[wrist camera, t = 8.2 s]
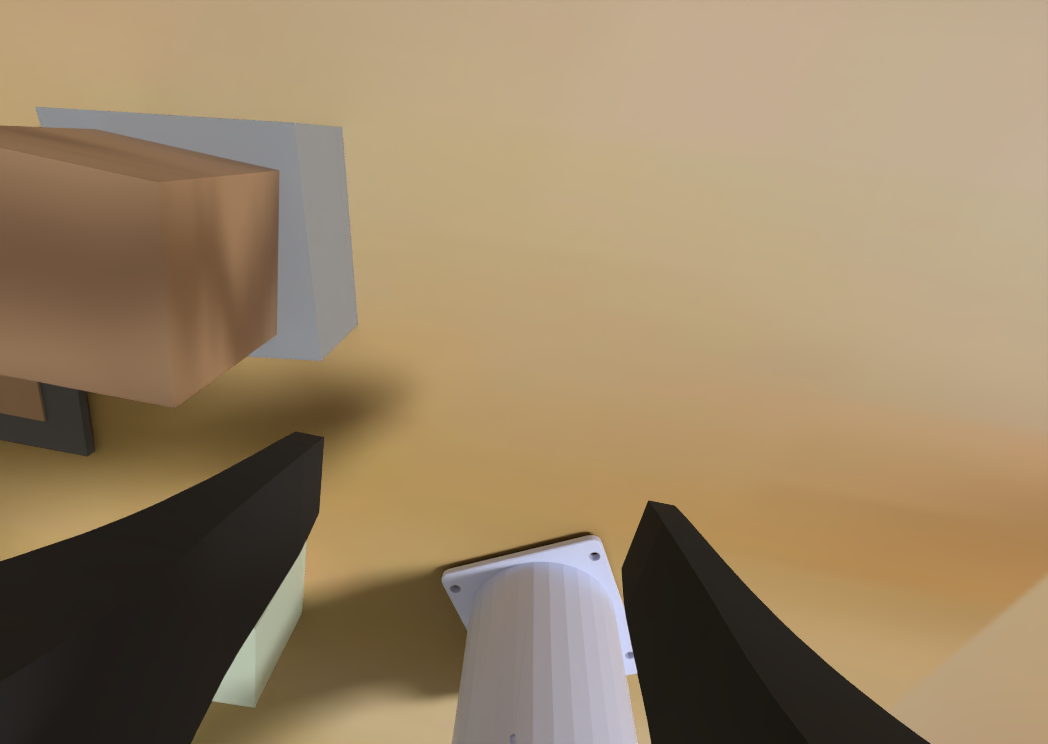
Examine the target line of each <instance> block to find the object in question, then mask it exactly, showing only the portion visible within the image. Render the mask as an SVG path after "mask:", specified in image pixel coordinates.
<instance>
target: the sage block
mask: <svg viewBox="0 0 1048 744" xmlns="http://www.w3.org/2000/svg"><path fill="white" fill-rule="evenodd" d="M306 544H307V540H306V542H305V544H304V546H303V548H302V551H301V553H300V555H299V556H298V558H297V560H296V561H295V563H294V565H293V566H292V568H291V569H290V571H289V573H288V574H287V576H286V577H285V579H284V581H283V582H282V584H281V586H280V587H279V589H278V590H277V592H276V594H275V595H274V597H273V598H272V600H271V601H270V603H269V605H268V606H267V608H266V609H265V611H264V613H263V614H262V616H261V617H260V619H259V620H258V622H257V624H256V625H255V627H254V628H253V630H252V632H251V633H250V635H249V636H248V638H247V640H246V641H245V643H244V644H243V646H242V647H241V649H240V651H239V652H238V654H237V656H236V657H235V659H234V661H233V663H232V664H231V666H230V668H229V670H228V671H227V673H226V675H225V677H224V678H223V680H222V682H221V684H220V686H219V688H218V690H217V692H216V694H215V696H214V698H213V700H212V701H214V702H221V703H227V704H233V705H239V706H245V707H252V708H255V706H256V704H257V702H258V700H259V698H260V696H261V694H262V692H263V690H264V688H265V686H266V684H267V682H268V680H269V678H270V676H271V674H272V672H273V670H274V668H275V666H276V664H277V662H278V660H279V658H280V656H281V654H282V652H283V650H284V648H285V646H286V644H287V642H288V640H289V638H290V636H291V634H292V632H293V630H294V628H295V626H296V624H297V622H298V620H299V618H300V616H301V614H302V606H303V591H304V575H305V559H306Z"/></svg>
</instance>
